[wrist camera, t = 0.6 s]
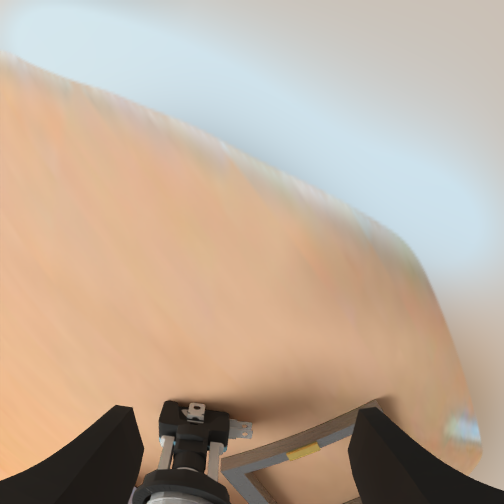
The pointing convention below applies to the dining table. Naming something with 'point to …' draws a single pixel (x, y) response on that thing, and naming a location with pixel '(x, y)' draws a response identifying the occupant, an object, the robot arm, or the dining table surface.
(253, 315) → the dining table surface
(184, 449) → the push button
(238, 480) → the frame
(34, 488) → the robot arm
